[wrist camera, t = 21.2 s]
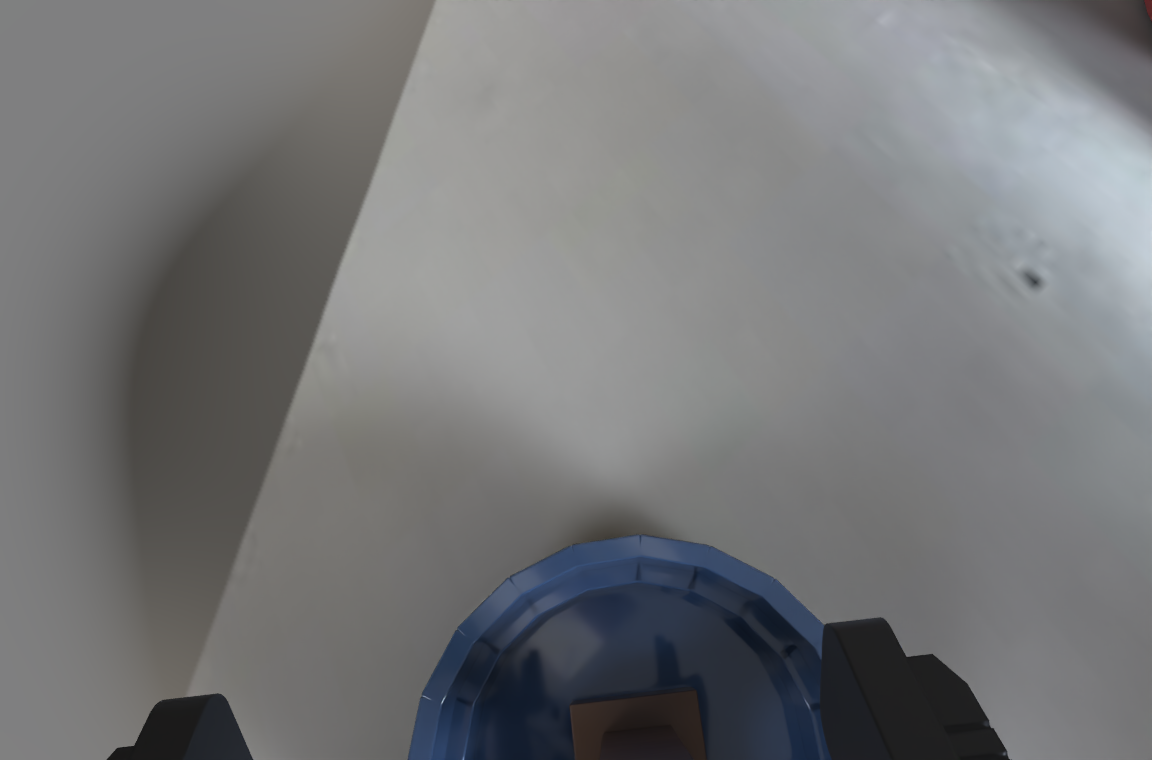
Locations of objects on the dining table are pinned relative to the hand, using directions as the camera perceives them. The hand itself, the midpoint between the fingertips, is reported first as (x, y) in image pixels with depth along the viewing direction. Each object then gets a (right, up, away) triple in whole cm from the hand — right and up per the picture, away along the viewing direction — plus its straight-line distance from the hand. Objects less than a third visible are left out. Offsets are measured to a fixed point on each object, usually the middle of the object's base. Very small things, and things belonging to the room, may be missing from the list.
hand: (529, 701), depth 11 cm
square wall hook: (+3, -10, +21) cm, 24 cm away
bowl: (+3, -10, +22) cm, 24 cm away
